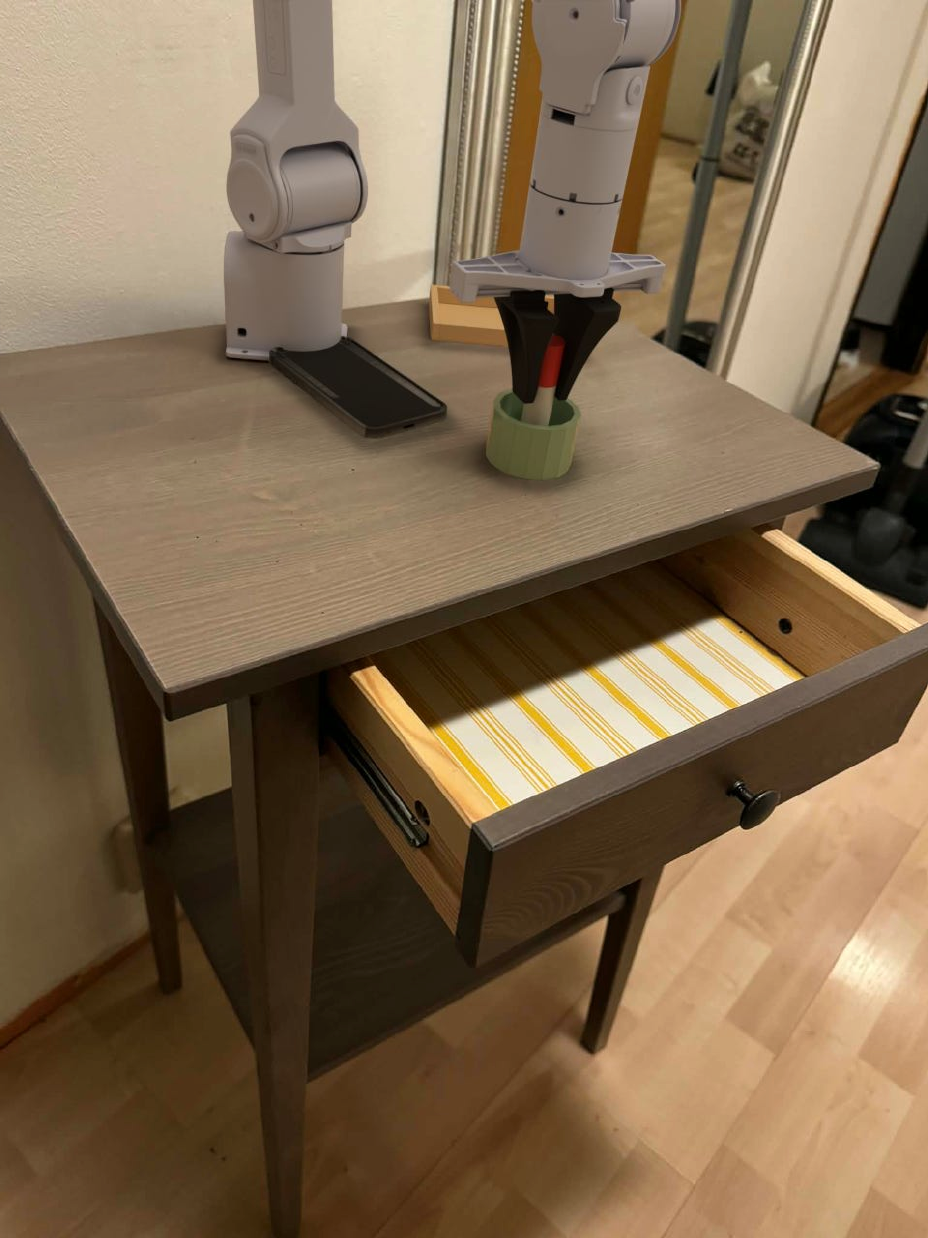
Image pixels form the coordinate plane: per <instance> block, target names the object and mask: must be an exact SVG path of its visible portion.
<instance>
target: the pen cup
mask: <svg viewBox="0 0 928 1238" xmlns="http://www.w3.org/2000/svg"><path fill="white" fill-rule="evenodd" d="M523 405H524V403H523V402H522V401H521V400H520V399H519V398H518V397H517V396H516V395H515V394H514V393H513V391H512V388H508V389H506V390H503V391H501V392H498V393H497V394H496V396H495V397H494V398H493V400H492V404H491V411H490V417H489V424H488V430H487V438H486V445H485V455H486V458H487V461H488V462H489V463H490V464H491V465H492V466H493V467H494V468H495V469H497V470H498V471H499V472H501V473H503V474H506V475H508V476H510V477H513V478H514V477H515V478H517V479H522V480H527V481H528V480H529V481H549V480H553V479H558V478H559V477H562V476H563V475H565V474H566V473H567V472H568V471H569V470H570V467H571V466H572V463H573V456H574V452H575V447H576V443H577V438H578V434H579V429H580V424H581V420H582V413H581V410H580V407H579V406H578V405H577V403H575V402H574V401H573V400H572V399H570V398H569V397H568V398H567V400H562V401H558V400H557V399H556V397H555V396H554V399H553V404H552V410H551V415H550V420H549V425H548V426H540V425H532V424H528V423H525V422H521V416H522V410H523Z"/></svg>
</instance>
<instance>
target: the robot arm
mask: <svg viewBox="0 0 928 1238" xmlns="http://www.w3.org/2000/svg"><path fill="white" fill-rule="evenodd" d="M530 1H531V2H532V7H531V27H532V34H533V39H534V43H535V46H536V48H537V52H538V54H539V57H540V61H541V62H540V63H541V73H540V81H539V87H538V90H539V91H540V92H541V94H542V95H541V96H542V98H541V105H540V113H539V120H538V126H537V131H536V132H537V133H536V139H535V140H536V141H535V145H534V152H533V159H532V166H531V172H530V180H529V185H528V192H527V199H526V204H525V210H524V211H525V212H524V219H523V224H522V232H521V237H520V244H519V249H515V250H512V251H507V252H501V253H497V254H493V255H487V256H482V257H477V258H470V259H460V260H453V261H452V263H451V272H450V273H451V274H450V283H449V286H450V292H451V293H452V294H453V295H454V296H455V297H456V298H457V299H458V300H459V301H460V302H461V303H472V302H475V301H476V298H485V297H494V300H495V303H496V305H497V308H498V311H499V314H500V317H501V320H502V323H503V326H504V330H505V334H506V338H507V342H508V347H507V348H508V352H509V360H510V368H511V386H512V388H511V389H512V391H513V393H514V394H515V395H516V396H517V397H518V398H519V399H520V400H521V401H522V402H523V403H524V404H530V403H534V400H535V397H536V394H537V391H538V386H539V380H540V375H541V369H542V364H543V360H544V356H545V353H546V350H547V347H548V344H549V341H550V339H551V337H552V334H554V335H557V336H560V337H561V338H563V339H564V340H565V346H564V351H563V357H562V362H561V367H560V372H559V377H558V382H557V385H556V389H555V394H554V396H555V397H556V399H557V400H558V401H562V400H567V398H569V396H570V394H571V392H572V390H573V388H574V385H575V384H576V381H577V380H578V377H579V375H580V374H581V371H582V369H583V367H584V366H585V364H586V363H587V360H588V359H589V357H590V356H591V354H592V353H593V351H594V350H595V348H596V347H597V345H599V343H600V342H601V340H602V339H603V338H604V337H605V336H606V334H607V333H608V332H609V331H610V330H611V329H612V328H613V327H614V326H615V325H616V324H617V323H619V319H620V316H621V311H622V305H621V303H619V302H618V301H616V300H615V298H614V297H613V296H614V292H633V291H634V292H636V291H641V292H642V293H644V294H647V295H656V294H657V295H658V294H660V293H661V289H662V285H663V280H664V277H665V273H666V268H667V265H666V264H665V263H664V262H662V261H661V260H659V259H658V258H657V257H655V256H653V255H652V254H631V253H620V252H613V246H614V241H615V237H616V232H617V228H618V223H619V222H618V221H619V218H620V213H621V208H622V203H623V199H624V195H625V189H626V185H627V179H628V175H629V170H630V165H631V160H632V156H633V151H634V147H635V143H636V137H637V132H638V127H639V123H640V117H641V115H642V114H641V113H642V108H643V104H644V98H645V94H646V89H647V85H648V81H649V75H650V70H651V65H653V64H654V63H656V62H657V61H658V60H660V59H661V58H662V57H663V56H664V54H665V53H666V52H667V51H668V49H669V48H670V46H671V45H672V43H673V41H674V39H675V37H676V34H677V31H678V28H679V24H680V20H681V14H682V13H681V12H682V0H530ZM252 7H253V10H252V11H253V23H254V35H255V36H254V38H255V39H254V40H255V51H256V52H255V53H256V66H257V67H256V69H257V82H258V97H257V99H256V100H255V102H253V104H252V105H251V106H250V107H249V109H247V111H246V112H244V114H243V115H242V116H241V117H240V118H239V120H238V121H237V122H236V123H235V124H234V125H233V127H231V130H230V131H229V135H230V148H231V149H230V162H229V167H228V170H227V175H226V184H225V185H226V198H227V202H228V206H229V209H230V212H231V214H232V216H233V219H234V220H235V222H236V223H237V225H238V227H239V228H240V230H231V231H228V232H227V235H226V238H225V244H224V253H223V289H224V291H223V293H224V308H225V309H224V317H225V331H226V332H225V333H226V349H225V355H226V357H228V358H232V359H245V360H255V361H256V360H257V361H268V362H269V351H270V350H271V349H273V348H276V347H281V348H283V350H289V351H303V352H305V351H317V350H323V349H327V348H329V347H332V346H334V345H335V344H337V343H338V342H339V341H340V338H341V336H345V337H348V336H347V335H348V329H349V328H348V324H346V323H343V298H344V297H343V296H344V271H345V269H344V268H345V265H344V263H345V241H346V239H349V238H351V237H352V225H353V224H354V223H355V222H357V221H358V220H360V218H361V217H362V215H363V214H364V212H365V210H366V207H367V203H368V197H369V183H368V176H367V172H366V169H365V165H364V163H363V160H362V156H361V152H360V151H361V150H360V137H359V135H360V131H359V127H358V126H357V125H356V123H355V122H354V121H353V120H352V119H351V118H350V116H348V115H347V113H346V112H345V111H344V110H343V109H342V108H341V106H340V105H339V104H338V103H337V102H336V100H335V99H336V97H335V93H336V92H335V62H334V60H335V59H334V57H335V55H334V21H333V20H334V19H333V17H334V16H333V0H252ZM545 295H546V296H551V295H553V296H554V314H553V313H552V312H550V311H549V310H548V304H549V302H548V301H545Z"/></svg>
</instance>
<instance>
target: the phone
mask: <svg viewBox="0 0 928 1238" xmlns="http://www.w3.org/2000/svg"><path fill="white" fill-rule="evenodd" d="M268 362H269V364H270V365H271V366H272V367H274V368H275V369H276V370H278V371H279V372H280V373H281V374H282V375H284V376H285V377H286V378H288V379H289V380H290V381H291V382H293V383H294V384H295V385H296V386H298V387H300V389H301V390H303V392H306V394H308V395H309V396H311V398H313V399H314V400H315V401H317V402H318V403H319V404H320V405H322V406H323V407H324V408H325V409H327V410H328V411H329V412H331V413H332V414H333V415H334V416H335V417H336V418H338V419H339V420H340V421H342V422H343V423H344V424H346V425H347V426H348V427H349V428H351V429H352V430H353V431H355V432H356V433H357V434H359V435H360V436H361V437H364V438H367V439H382V438H385V437H389V436H392V435H396V434H400V433H404V432H407V431H412V430H415V429H418V428H422V427H425V426H429V425H430V426H431V425H433V424H437V423H440V422H444V420H445V419H447V413H448V405H447V404H446V403H445V402H443V401H442V400H441V399H440V398H438V397H437V396H435V395H434V394H433V393H431V392H429V391H428V390H427V389H425V388H424V387H422V386H421V385H419V384H418V383H416V382H415V381H413V380H412V379H411V378H409V377H408V376H407V375H405V374H404V373H402V372H401V371H399V370H398V369H396V368H395V367H393V366H392V365H391V364H389V363H388V362H386V361H385V360H384V359H382V358H380V357H379V356H378V355H376V354H375V353H374V352H372V351H371V350H369V349H367V348H366V347H365V346H363V345H362V344H360V343H359V342H358V341H356V340H355V339H353V338H351V337H349V336H347V337H345V336H341V338H340V341H339V342H338V343H337V344H335V345H334V346H332V347H329V348H327V349H323V350H317V351H305V352H303V351H289V350H283V348H281V347H276V348H273V349H271V350H270V351H269V361H268ZM410 425H413V426H410ZM406 426H409V427H406Z"/></svg>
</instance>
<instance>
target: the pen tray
mask: <svg viewBox="0 0 928 1238" xmlns="http://www.w3.org/2000/svg"><path fill="white" fill-rule="evenodd" d="M429 288H430V289H429V301H428V312H429V330H430V338H431V341H435V342H437V341H438V342H449V343H459V344H460V343H461V344H471V345H483V346H493V347H494V346H495V347H504V348H508V342H507V338H506V334H505V330H504V326H503V323H502V320H501V317H500V314H499V311H498V308H497V305H496V303H495V300H494V297H485V298H476V301H475V302H472V303H461V302H460V301H459V300H458V299H457V298H456V297H455V296H454V295H453V294H452V293H451V292H450V285H441V284H430V287H429ZM545 301H548V302H549V304H548V310H549V311H550V312H552V313H553V314H554V295H545Z"/></svg>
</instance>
